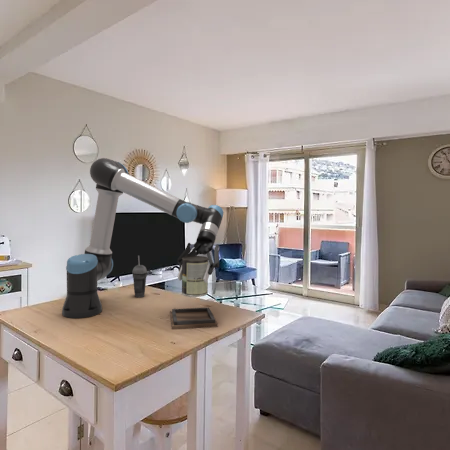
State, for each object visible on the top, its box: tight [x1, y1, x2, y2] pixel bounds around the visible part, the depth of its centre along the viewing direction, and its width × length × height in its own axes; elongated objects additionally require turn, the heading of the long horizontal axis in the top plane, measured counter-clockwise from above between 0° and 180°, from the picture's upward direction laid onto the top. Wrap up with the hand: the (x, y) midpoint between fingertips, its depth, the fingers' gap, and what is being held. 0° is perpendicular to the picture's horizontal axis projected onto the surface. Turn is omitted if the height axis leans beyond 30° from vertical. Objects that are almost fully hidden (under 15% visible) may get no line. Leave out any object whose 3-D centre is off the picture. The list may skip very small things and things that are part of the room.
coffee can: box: [181, 255, 209, 298], centre depth 132 cm, size 10×10×14 cm
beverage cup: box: [131, 255, 148, 298], centre depth 165 cm, size 7×7×20 cm
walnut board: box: [169, 307, 219, 330], centre depth 133 cm, size 17×17×2 cm
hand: (191, 279), depth 129 cm, fingers closed on coffee can, 10 cm apart
